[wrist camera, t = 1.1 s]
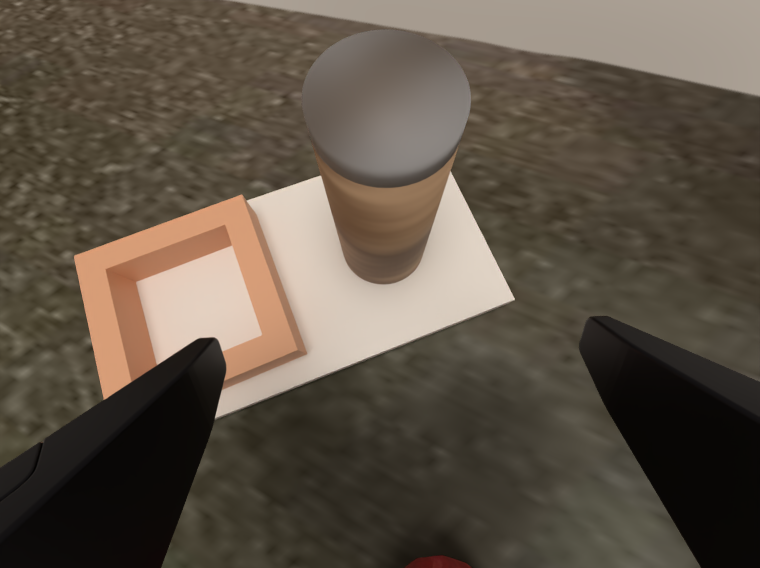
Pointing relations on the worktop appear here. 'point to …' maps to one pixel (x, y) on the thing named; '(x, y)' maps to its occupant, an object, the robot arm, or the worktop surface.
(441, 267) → the mount board
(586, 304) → the worktop surface
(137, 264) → the socket
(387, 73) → the gray-capped wooden tube
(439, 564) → the red oval fruit
